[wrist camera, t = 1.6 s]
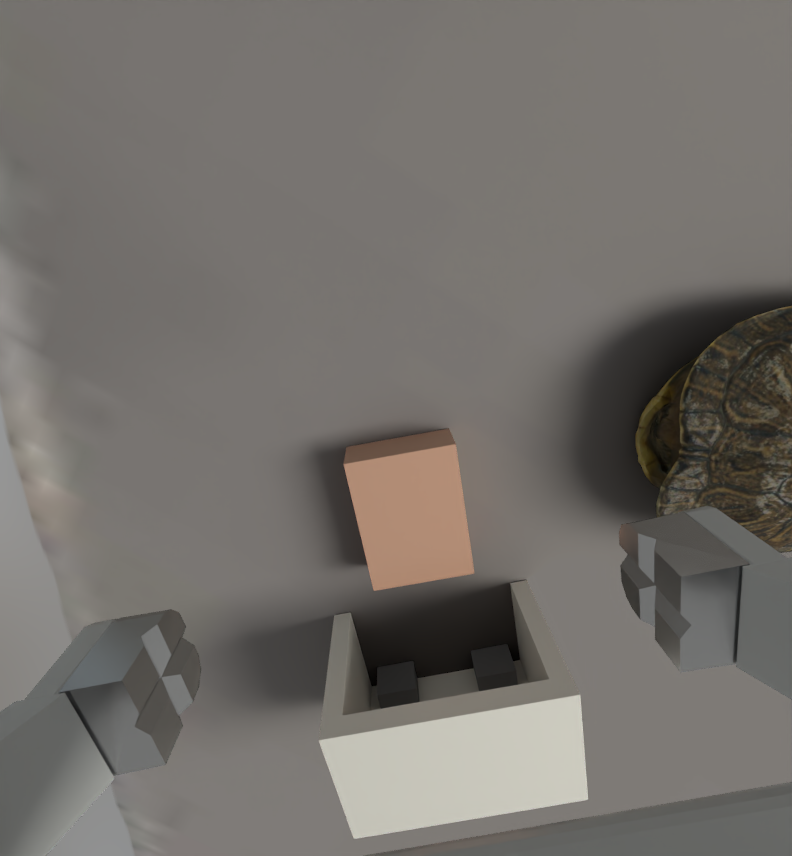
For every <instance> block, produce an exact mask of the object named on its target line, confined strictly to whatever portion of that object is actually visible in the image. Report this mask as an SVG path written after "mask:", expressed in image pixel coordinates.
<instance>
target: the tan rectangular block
mask: <svg viewBox="0 0 792 856" xmlns="http://www.w3.org/2000/svg"><path fill="white" fill-rule="evenodd" d="M344 468H345V472H346V477H347V481H348V485H349V489H350V493H351V498H352V502H353V506H354V510H355V514H356V518H357V523H358V527H359V531H360V535H361V539H362V544H363V548H364V552H365V556H366V560H367V564H368V569H369V573H370V577H371V581H372V585H373V590H374V591H376V590H382V589H388V588H394V587H399V586H405V585H411V584H417V583H422V582H428V581H434V580H440V579H446V578H451V577H457V576H463V575H469V574H474V567H473V560H472V553H471V546H470V539H469V532H468V525H467V519H466V512H465V505H464V498H463V491H462V484H461V477H460V470H459V463H458V456H457V449H456V444H455V441H454V439H453V437H452V434H451V432H450V430H449V429H443V430H438V431H432V432H427V433H421V434H416V435H410V436H405V437H399V438H393V439H388V440H382V441H377V442H371V443H366V444H360V445H355V446H349V447H346V453H345V459H344Z"/></svg>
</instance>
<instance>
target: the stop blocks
mask: <svg viewBox="0 0 792 856" xmlns="http://www.w3.org/2000/svg"><path fill="white" fill-rule="evenodd" d="M471 656H472V662H473V667H474V672H475V676H476V680H477V685H478V689H479V691H485V690H491V689H496V688H502V687H508V686H513V685H518V680H517V673H516V669H515V666H514V663H513V660H512V657H511V654H510V651H509V648H508V645H507V644H504V645H499V646H493V647H488V648H482V649H476V650H471ZM377 697H378V701H379V704H380V708H381V709H383V708H388V707H394V706H400V705H405V704H411V703H417V702H420V701H419V690H418V680H417V675H416V670H415V666H414V662H413V661H409V662H404V663H398V664H393V665H387V666H381V667H377Z"/></svg>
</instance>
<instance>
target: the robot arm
mask: <svg viewBox="0 0 792 856" xmlns="http://www.w3.org/2000/svg"><path fill="white" fill-rule="evenodd" d="M619 545H620V546H621V547H622V548H623V549H624V551H625V552H626V553H627V554H628V555H627V557H626V558H625V560H624V561H623V563H622V564H621V566H620V567H621V580H622V584H623V588H624V591H625V594H626V597H627V599H628V601H629V603H630V605H631V607H632V609H633V610H634V611H635V613H636V614H637V616H638V617H639V618H640V620H642V621H644V622H646V623H648V624H650V625H652V626H654V627H655V640H656V641H657V642H658V644H659V645H660V646H661V648H662V649H663V650H664V652H665V653H666V654H667V656H668V657H669V658H670V660H671V661H672V662H673V664H674V665H675V666H676V667H677V669H678V670H679V671H680V672H686V671H693V670H699V669H706V668H713V667H719V666H726V665H733V664H736V667H737V668H739V669H741V670H742V671H744V672H746V673H747V674H749V675H751V676H753V677H754V678H756V679H758V680H759V681H761V682H763V683H764V684H766V685H768V686H769V687H771V688H773V689H775V690H776V691H778V692H780V693H781V694H783V695H785V696H786V697H788V698H790V699H791V700H792V557H791V558H787V557H785V556H784V555H782V554H781V553H779V552H778V551H777V550H775V549H774V548H772V547H771V546H769V545H768V544H767V543H765V542H764V541H762V540H761V539H759V538H758V537H757V536H755V535H754V534H752V533H751V532H749V531H748V530H747V529H745V528H744V527H742V526H741V525H739V524H738V523H737V522H735V521H734V520H732V519H731V518H729V517H728V516H727V515H725V514H724V513H722V512H721V511H719V510H718V509H717V508H714V507H710V506H704V507H699V508H695V509H690V510H686V511H681V512H678V513H676V514H671V515H666V516H661V517H656V518H651V519H646V520H641V521H636V522H631V523H626V524H621V528H620V531H619ZM185 628H186V625H185V623H184V621H183V619H182V617H181V615H180V613H179V612H177V611H174V610H172V609H171V610H165V611H159V612H153V613H147V614H141V615H135V616H129V617H123V618H119V619H112V620H106V621H101V622H96V623H93V624H91V625H88V626H86V627H84V628H83V630H82V631H81V632H80V633H79V634H78V636H77V637H76V638H75V639H74V640H73V642H72V643H71V644H70V645H69V647H68V648H67V649H66V650H65V651H64V653H63V654H62V655H61V656H60V657H59V659H58V660H57V661H56V662H55V663H54V665H53V666H52V667H51V668H50V669H49V671H48V672H47V673H46V674H45V675H44V677H43V678H42V679H41V680H40V681H39V683H38V684H37V685H36V686H35V687H34V689H33V690H32V691H31V692H30V693H29V695H28V696H27V697H26V698H25V700H22V701H17V702H14V703H12V704H11V705H10V706H8V707H7V708H5V709H4V710H2V711H1V712H0V856H47V854H48V853H49V852H50V851H51V850H52V849H53V848H54V847H55V845H56V844H57V843H58V842H59V841H60V840H61V839H62V837H63V836H64V835H65V834H66V833H67V832H68V831H69V830H70V829H71V827H72V826H73V825H74V824H75V823H76V822H77V821H78V819H79V818H80V817H81V816H82V815H83V814H84V813H85V812H86V810H87V809H88V808H89V807H90V806H91V805H92V804H93V803H94V801H95V800H96V799H97V798H98V797H99V796H100V795H101V794H102V792H103V791H104V790H105V789H106V788H107V787H108V786H109V785H110V783H111V782H112V781H113V780H114V778H115V777H114V776H115V775H120V774H125V773H129V772H134V771H139V770H144V769H148V768H153V767H158V766H162V765H166V763H167V761H168V759H169V756H170V754H171V752H172V749H173V747H174V745H175V742H176V740H177V738H178V735H179V733H180V731H181V729H182V726H183V725H182V722H181V719H180V716H179V715H180V714H181V713H182V712H183V711H184V710H185V709H186V708H187V707H188V706H189V705H190V704H191V703H192V702H193V701H194V698H195V696H196V693H197V691H198V688H199V683H200V674H201V666H200V660H199V655H198V653H197V650H196V648H195V646H194V645H193V644H191V643H190V642H188V641H187V640H185V639H184V638H182V637H183V634H184V631H185ZM365 856H792V782H789V783H783V784H777V785H771V786H766V787H760V788H754V789H748V790H742V791H736V792H730V793H725V794H719V795H713V796H707V797H702V798H696V799H690V800H684V801H678V802H673V803H667V804H661V805H655V806H650V807H644V808H638V809H632V810H627V811H621V812H615V813H609V814H603V815H598V816H592V817H586V818H580V819H575V820H569V821H563V822H557V823H551V824H546V825H540V826H534V827H528V828H523V829H517V830H511V831H505V832H500V833H494V834H488V835H482V836H476V837H470V838H464V839H459V840H453V841H447V842H441V843H435V844H429V845H423V846H417V847H412V848H406V849H400V850H394V851H388V852H382V853H376V854H370V855H365Z"/></svg>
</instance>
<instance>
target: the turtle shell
mask: <svg viewBox="0 0 792 856" xmlns="http://www.w3.org/2000/svg"><path fill="white" fill-rule="evenodd" d="M635 438H636V450H637V454H638V462H639V463H640V464H641V467H642V469H643V471H644V474H645V476H646V477H647V478H648V479H649V480H650V482H651V483H652V484H653V485H655V486H657V487H658V488H660V492H659V496H658V499H657V503H656V514H657V517H661V516H666V515H671V514H676V513H678V512H681V511H686V510H690V509H695V508H699V507H704V506H710V507H714V508H717V509H718V510H719V511H721V512H722V513H724V514H725V515H727V516H728V517H729V518H731V519H732V520H734V521H735V522H737V523H738V524H739V525H741V526H742V527H744V528H745V529H747V530H748V531H749V532H751V533H752V534H754V535H755V536H757V537H758V538H759V539H761V540H762V541H764V542H765V543H767V544H768V545H769V546H771V547H772V548H774V549H775V550H777V551H778V552H779V553H782V552H791V551H792V306H789V307H784V308H779V309H775V310H772V311H769V312H766V313H762V314H759V315H756V316H753V317H751V318H749V319H746V320H744V321H742V322H739V323H737V324H735V325H734V326H733V327H732V328H730V329H729V330H728V331H726V332H725V333H723V334H722V335H720V336H719V337H717V338H716V339H715V340H714V341H713V342H712V343H711V344H710V345H709V346H708V347H707V348H706V349H705V350H704V351H703V352H702V353H701V354H700V356H698V357H697V358H695V359H694V360H692V361H691V362H689V363H688V364H687V365H685V366H684V367H682V368H681V369H679V370H678V371H677V372H676V373H675V374H674V375H673V376H672V377H671V378H670V379H669V380H668V382H667V383H666V384H665V385H664V386H663V388H662V389H661V390H660V391H659V393H658V394H657V395H656V396H655V397H653V398H652V399H651V401H650V402H649V403H648V404H647V406H646V407H645V409H644V411H643V413H642V415H641V417H640V421H639V427H638V429H637V432H636V435H635Z"/></svg>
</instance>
